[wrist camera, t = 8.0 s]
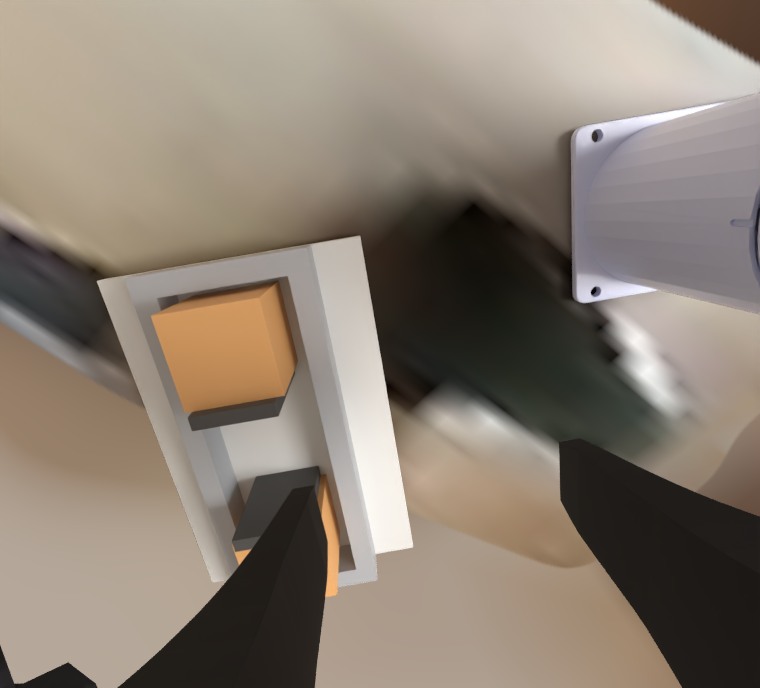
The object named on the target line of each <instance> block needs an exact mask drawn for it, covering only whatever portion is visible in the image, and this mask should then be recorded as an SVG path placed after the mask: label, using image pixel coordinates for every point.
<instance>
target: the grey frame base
mask: <svg viewBox="0 0 760 688" xmlns="http://www.w3.org/2000/svg"><path fill="white" fill-rule="evenodd" d="M275 281H279V283H280V288H281V292H282V296H283V300H284V304H285V308H286V312H287V317H288V321H289V325H290V329H291V333H292V337H293V341H294V346H295V350H296V354H297V358H298V363H297V365H296V368H295V374H294V377H293V380H292V382H291V385H290V388H289V390H288V393H287V395H286V398H285V401H284V403H283V406H282V409H281V411H280V414H279V416H278V417H272V418H267V419H261V420H255V421H249V422H244V423H238V424H232V425H226V426H221V427H215V428H209V429H203V430H198V431H192V430H191V427H190V424H189V421H188V416H189V415H190V414H191V413H192V412H188V413H185V412H184V409H183V407H182V404H181V401H180V398H179V395H178V392H177V389H176V387H175V384H174V381H173V378H172V375H171V372H170V370H169V367H168V364H167V361H166V358H165V355H164V352H163V350H162V347H161V344H160V341H159V338H158V335H157V333H156V330H155V327H154V324H153V321H152V318H151V316H152V315H154V314H156V313H158V312H160V311H162V310H164V309H166V308H168V307H171V306H173V305H175V304H177V303H179V302H181V301H183V300H185V299H187V298H189V297H191V296H193V295H199V294H205V293H211V292H217V291H222V290H228V289H234V288H240V287H246V286H252V285H257V284H263V283H269V282H275ZM97 284H98V286H99V289H100V291H101V294H102V297H103V299H104V302H105V304H106V307H107V310H108V312H109V315H110V317H111V320H112V323H113V325H114V328H115V330H116V333H117V336H118V338H119V341H120V343H121V346H122V349H123V351H124V354H125V356H126V359H127V362H128V364H129V367H130V369H131V372H132V375H133V377H134V380H135V382H136V385H137V388H138V390H139V393H140V395H141V398H142V401H143V403H144V406H145V408H146V411H147V414H148V416H149V419H150V421H151V424H152V426H153V429H154V432H155V434H156V437H157V440H158V442H159V445H160V447H161V450H162V453H163V455H164V458H165V460H166V463H167V466H168V468H169V471H170V473H171V476H172V479H173V481H174V484H175V487H176V489H177V492H178V494H179V497H180V499H181V502H182V505H183V507H184V510H185V512H186V515H187V517H188V520H189V523H190V525H191V528H192V531H193V533H194V536H195V538H196V541H197V544H198V546H199V549H200V551H201V554H202V557H203V559H204V562H205V565H206V567H207V570H208V572H209V575H210V577H211V580H212V582H213V583H214V582H219V581H225V580H228V579H229V578H230V577H231V575H232V574H233V573H234V571H235V570H236V569H237V568H238V566H239V565H240V564H241V562H242V561H243V560H244V558H245V557H246V556H247V555H248V553H249V552H250V551H251V549H252V548H253V546H254V545H255V544H256V542H257V541H258V539H259V538H260V537H261V535H262V534H263V532H264V531H265V529H266V528H267V526H268V525H269V524H270V522H271V521H272V519H273V518H274V516H275V515H276V513H277V511H278V510H279V508H280V507H281V505H282V504H283V502H284V501H285V499H286V498H287V496H288V495H289V493H290V492H291V491H292V489H295V488H300V487H306V486H312V485H314V489H315V493H316V497H317V501H318V505H319V509H320V512H321V516H322V520H323V524H324V528H325V532H326V536H327V540H328V576H327V586H326V594H325V597H329V596H335V595H337V590H338V587H343V586H348V585H354V584H359V583H365V582H371V581H376V580H377V565H376V554H378V553H383V552H389V551H395V550H401V549H406V548H412V547H413V542H412V536H411V531H410V525H409V520H408V513H407V507H406V501H405V496H404V490H403V484H402V478H401V472H400V466H399V460H398V455H397V449H396V443H395V437H394V431H393V425H392V419H391V414H390V408H389V402H388V396H387V390H386V384H385V378H384V373H383V367H382V361H381V355H380V349H379V343H378V337H377V332H376V326H375V320H374V314H373V308H372V302H371V296H370V291H369V285H368V279H367V273H366V267H365V261H364V255H363V250H362V244H361V238H360V235H359V236H353V237H347V238H342V239H336V240H330V241H324V242H318V243H312V244H306V245H300V246H295V247H289V248H283V249H277V250H271V251H265V252H259V253H253V254H247V255H242V256H236V257H230V258H224V259H218V260H212V261H206V262H200V263H195V264H189V265H183V266H177V267H171V268H165V269H159V270H153V271H148V272H142V273H136V274H130V275H124V276H118V277H112V278H107V279H103V280H99V281H97Z"/></svg>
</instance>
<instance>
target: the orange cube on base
mask: <svg viewBox="0 0 760 688" xmlns="http://www.w3.org/2000/svg"><path fill="white" fill-rule="evenodd" d="M151 318H152V321H153V324H154V327H155V330H156V333H157V335H158V338H159V341H160V344H161V347H162V350H163V352H164V355H165V358H166V361H167V364H168V367H169V370H170V372H171V375H172V378H173V381H174V384H175V387H176V389H177V392H178V395H179V398H180V401H181V404H182V407H183V409H184V412H185V413H188V412H192V413H191V414H190V415H189V416H188V421H189V424H190V427H191V430H192V431H198V430H203V429H209V428H215V427H221V426H226V425H232V424H238V423H244V422H249V421H255V420H261V419H267V418H272V417H278V416H279V414H280V411H281V409H282V406H283V403H284V401H285V398H286V395H287V393H288V390H289V388H290V385H291V382H292V380H293V377H294V374H295V368H296V365H297V363H298V358H297V354H296V350H295V346H294V341H293V337H292V333H291V329H290V325H289V321H288V317H287V312H286V308H285V304H284V300H283V296H282V292H281V288H280V283H279V281H275V282H269V283H263V284H257V285H252V286H246V287H240V288H234V289H228V290H222V291H217V292H211V293H205V294H199V295H193V296H191V297H189V298H187V299H185V300H183V301H181V302H179V303H177V304H175V305H173V306H171V307H168V308H166V309H164V310H162V311H160V312H158V313H156V314H154V315H152V316H151Z"/></svg>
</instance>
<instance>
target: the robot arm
mask: <svg viewBox="0 0 760 688" xmlns="http://www.w3.org/2000/svg"><path fill="white" fill-rule="evenodd" d="M593 131H595V132H597V134H598V139H597V141H596V142H594V141H593V140H592V138H591V136H592V133H593ZM571 204H572V294H573V298H574V299H575V300H576V301H578V302H580V303H589V302H595V301H600V300H606V299H612V298H618V297H624V296H630V295H635V294H641V293H647V292H653V291H659V290H661V291H665V292H669V293H673V294H677V295H681V296H685V297H690V298H694V299H698V300H702V301H706V302H710V303H714V304H718V305H723V306H727V307H731V308H735V309H739V310H743V311H747V312H752V313H756V314H760V92H759V93H756V94H753V95H750V96H746V97H743V98H740V99H737V100H732V101H726V102H721V103H715V104H709V105H703V106H697V107H691V108H685V109H679V110H673V111H667V112H661V113H655V114H649V115H643V116H637V117H632V118H626V119H620V120H614V121H608V122H602V123H596V124H590V125H585V126H582V127H580V128H577V129H576V130H575V131H574V133H573V135H572V137H571ZM593 287H596V289H597V290H596V293H595V294H594V295H591V290H592V289H593ZM559 453H560V497H561V502H562V504H563V506H564V508H565V509H566V511H567V513H568V515H569V517H570V519H571V520H572V522H573V524H574V526H575V527H576V529H577V531H578V533H579V534H580V536H581V537H582V538H583V540H584V541H585V543H586V544H587V545H588V547H589V548H590V550H591V551H592V552H593V554H594V555H595V557H596V558H597V559H598V561H599V562H600V563H601V565H602V566H603V568H604V569H605V570H606V572H607V573H608V574H609V576H610V577H611V579H612V580H613V581H614V583H615V584H616V585H617V587H618V588H619V590H620V591H621V592H622V594H623V595H624V596H625V598H626V599H627V600H628V602H629V603H630V605H631V606H632V607H633V609H634V610H635V612H636V613H637V614H638V616H639V618H640V619H641V620H642V622H643V623H644V625H645V626H646V628H647V629H648V631H649V633H650V634H651V636H652V638H653V639H654V641H655V642H656V644H657V646H658V648H659V649H660V651H661V653H662V654H663V656H664V658H665V659H666V661H667V663H668V664H669V666H670V668H671V669H672V671H673V673H674V674H675V676H676V678H677V679H678V681H679V683H680V685H681V686H682V688H760V517H759V516H756V515H754V514H751V513H748V512H745V511H742V510H740V509H737V508H734V507H732V506H729V505H726V504H723V503H720V502H718V501H715V500H713V499H710V498H708V497H705V496H703V495H700V494H698V493H696V492H693V491H691V490H689V489H686V488H684V487H682V486H679V485H677V484H675V483H672V482H670V481H668V480H666V479H664V478H661V477H659V476H657V475H655V474H653V473H651V472H649V471H647V470H644V469H642V468H640V467H638V466H636V465H634V464H632V463H630V462H628V461H626V460H624V459H622V458H620V457H618V456H616V455H614V454H612V453H610V452H608V451H606V450H604V449H602V448H600V447H598V446H596V445H593V444H591V443H589V442H587V441H585V440H582V439H574V440H569V441H563V442H559ZM327 576H328V540H327V536H326V532H325V528H324V524H323V520H322V516H321V512H320V509H319V505H318V501H317V497H316V493H315V489H314V485H312V486H306V487H300V488H295V489H292V491H291V492H290V493H289V495H288V496H287V498H286V499H285V501H284V502H283V504H282V505H281V507H280V508H279V510H278V511H277V513H276V515H275V516H274V518H273V519H272V521H271V522H270V524H269V525H268V526H267V528H266V529H265V531H264V532H263V534H262V535H261V537H260V538H259V539H258V541H257V542H256V544H255V545H254V546H253V548H252V549H251V551H250V552H249V553H248V555H247V556H246V557H245V558H244V560H243V561H242V562H241V564H240V565H239V566H238V568H237V569H236V570H235V571H234V573H233V574H232V575H231V577H230V578H229V579H228V580H227V581H226V583H225V584H224V585H223V586H222V587H221V589H220V590H219V591H218V592H217V593H216V594H215V595H214V596H213V598H212V599H211V600H210V601H209V602H208V603H207V604H206V605H205V606H204V607H203V608H202V610H201V611H200V612H199V613H198V614H197V615H196V616H195V617H194V618H193V619H192V620H191V621H190V622H189V623H188V624H187V625H186V626H185V627H184V628H183V629H182V630H181V631H180V632H179V633H178V634H177V635H176V636H175V637H174V638H173V639H171V641H169V642H168V643H167V644H166V645H165V646H164V647H163V648H162V649H161V650H160V651H159V652H158V653H157V654H156V655H155V656H153V658H151V659H150V660H149V661H148V662H147V663H146V664H145V665H144V666H142V667H141V668H140V669H139V670H138V671H137V672H136V673H134V674H133V675H132V676H131V677H130V678H128V679H127V680H126V681H125V682H124V683H123V684H121V685H120V686H119V687H118V688H315V678H316V667H317V658H318V651H319V643H320V635H321V626H322V618H323V610H324V603H325V594H326V586H327Z"/></svg>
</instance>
